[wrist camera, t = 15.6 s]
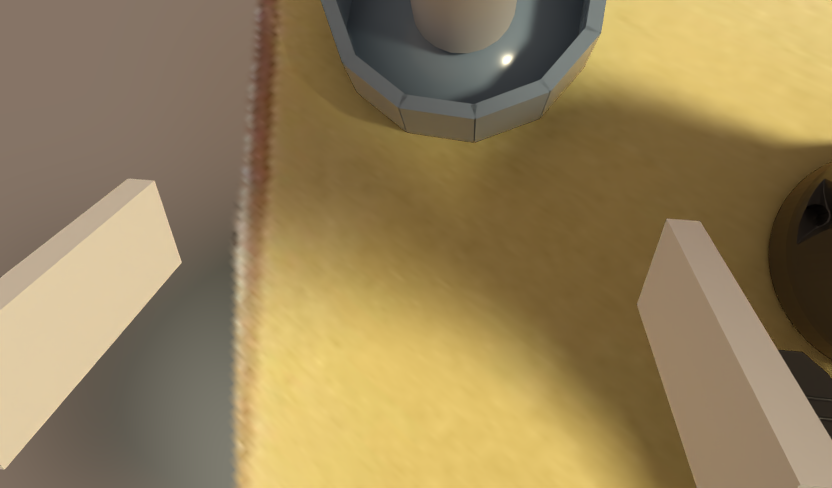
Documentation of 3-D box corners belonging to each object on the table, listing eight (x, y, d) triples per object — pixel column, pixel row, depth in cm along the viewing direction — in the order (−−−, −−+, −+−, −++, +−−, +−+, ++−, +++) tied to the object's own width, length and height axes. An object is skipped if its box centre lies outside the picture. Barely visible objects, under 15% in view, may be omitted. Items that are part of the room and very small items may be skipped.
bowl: (536, -129, 39) (545, -185, 35) (631, 85, 36) (654, 53, 32) (310, -41, 40) (291, -85, 36) (385, 175, 37) (374, 156, 33)
